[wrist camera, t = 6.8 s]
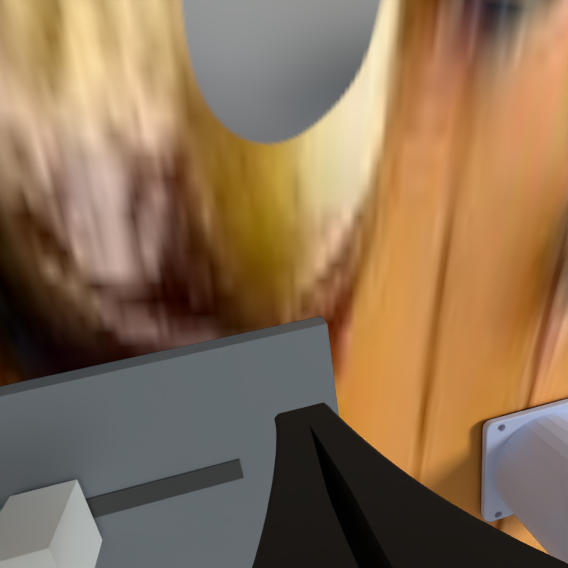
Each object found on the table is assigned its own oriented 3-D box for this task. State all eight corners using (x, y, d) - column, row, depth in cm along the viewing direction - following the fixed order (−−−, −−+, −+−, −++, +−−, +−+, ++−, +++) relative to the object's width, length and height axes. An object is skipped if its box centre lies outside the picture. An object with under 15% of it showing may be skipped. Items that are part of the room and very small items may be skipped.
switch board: (321, 316, 20) (327, 324, 18) (361, 625, 27) (367, 644, 26) (-116, 412, 17) (-137, 428, 16) (65, 724, 25) (59, 748, 24)
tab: (76, 479, 18) (48, 548, 15) (102, 540, 20) (81, 616, 16) (9, 496, 18) (-35, 570, 15) (40, 557, 19) (5, 638, 16)
